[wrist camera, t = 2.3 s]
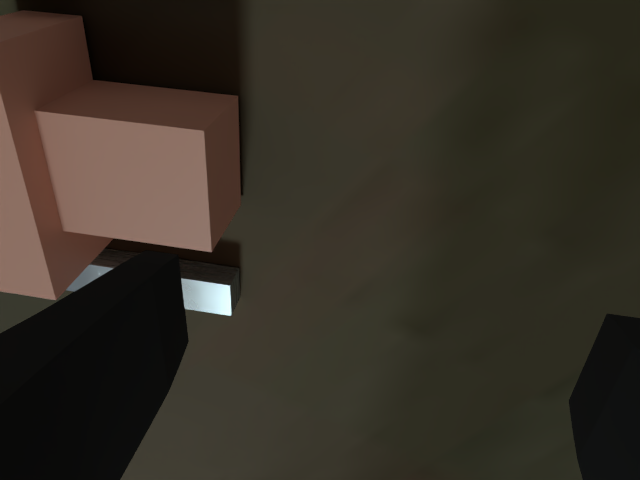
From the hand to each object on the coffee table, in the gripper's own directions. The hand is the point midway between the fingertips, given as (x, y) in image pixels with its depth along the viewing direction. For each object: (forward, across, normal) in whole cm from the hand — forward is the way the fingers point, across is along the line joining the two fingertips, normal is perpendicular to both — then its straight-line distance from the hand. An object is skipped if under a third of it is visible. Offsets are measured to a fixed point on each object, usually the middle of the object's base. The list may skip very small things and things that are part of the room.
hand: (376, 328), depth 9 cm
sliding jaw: (+9, +9, +1) cm, 13 cm away
